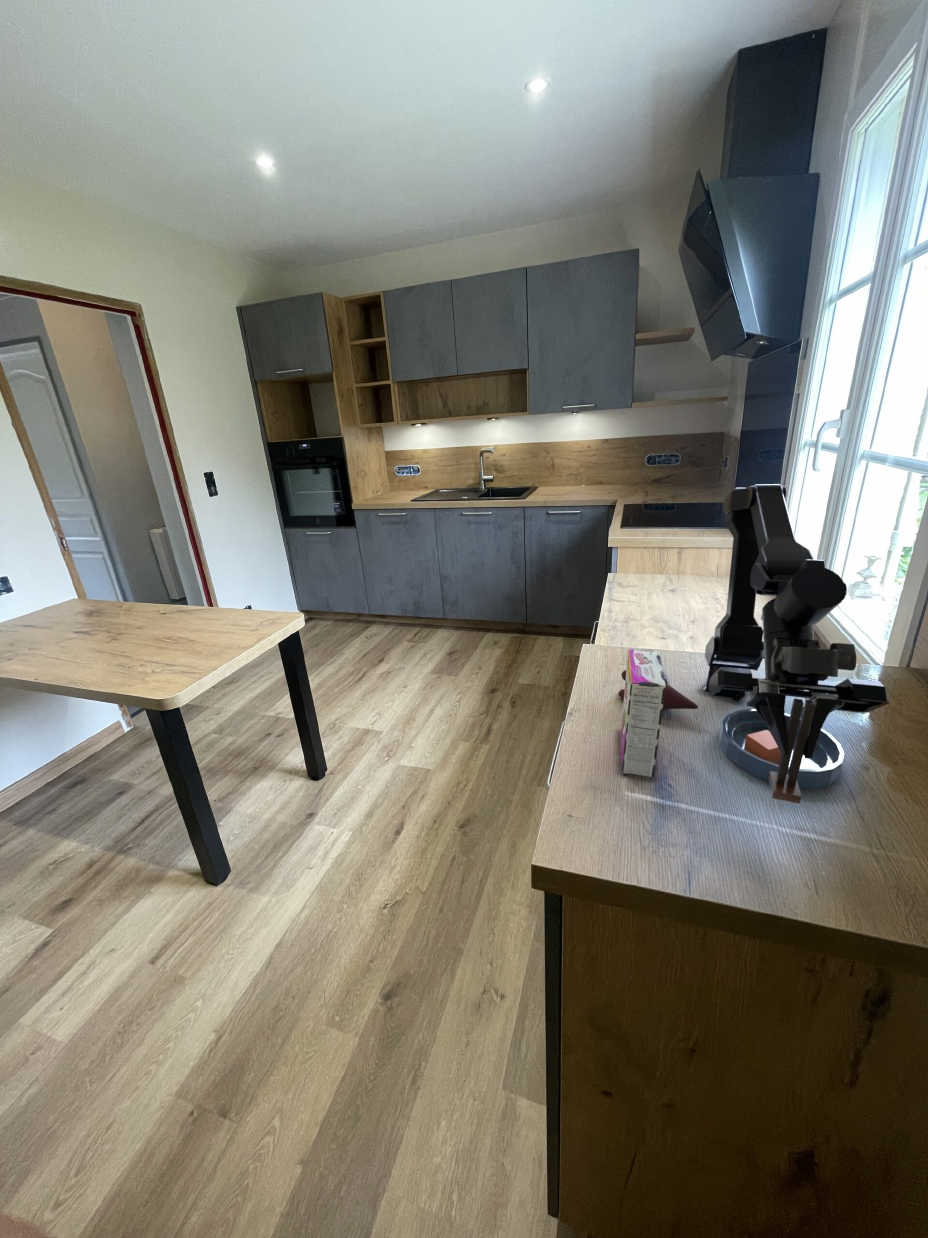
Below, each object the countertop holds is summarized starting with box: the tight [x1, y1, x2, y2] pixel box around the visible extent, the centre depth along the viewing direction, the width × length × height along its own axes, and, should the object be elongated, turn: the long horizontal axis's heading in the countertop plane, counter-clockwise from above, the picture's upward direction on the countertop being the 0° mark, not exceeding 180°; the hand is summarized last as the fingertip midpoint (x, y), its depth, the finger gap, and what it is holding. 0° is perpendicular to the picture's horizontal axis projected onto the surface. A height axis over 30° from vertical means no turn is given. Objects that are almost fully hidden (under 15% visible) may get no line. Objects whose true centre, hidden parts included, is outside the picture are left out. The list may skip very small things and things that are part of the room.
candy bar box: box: [620, 648, 666, 778], centre depth 75 cm, size 11×5×16 cm, turn 164°
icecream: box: [617, 669, 699, 710], centre depth 89 cm, size 7×7×15 cm
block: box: [744, 730, 781, 765], centre depth 75 cm, size 4×4×4 cm
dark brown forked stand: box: [768, 698, 816, 805], centre depth 61 cm, size 4×3×14 cm
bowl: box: [718, 708, 846, 790], centre depth 77 cm, size 16×16×4 cm
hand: (796, 756), depth 60 cm, fingers closed on dark brown forked stand, 2 cm apart
